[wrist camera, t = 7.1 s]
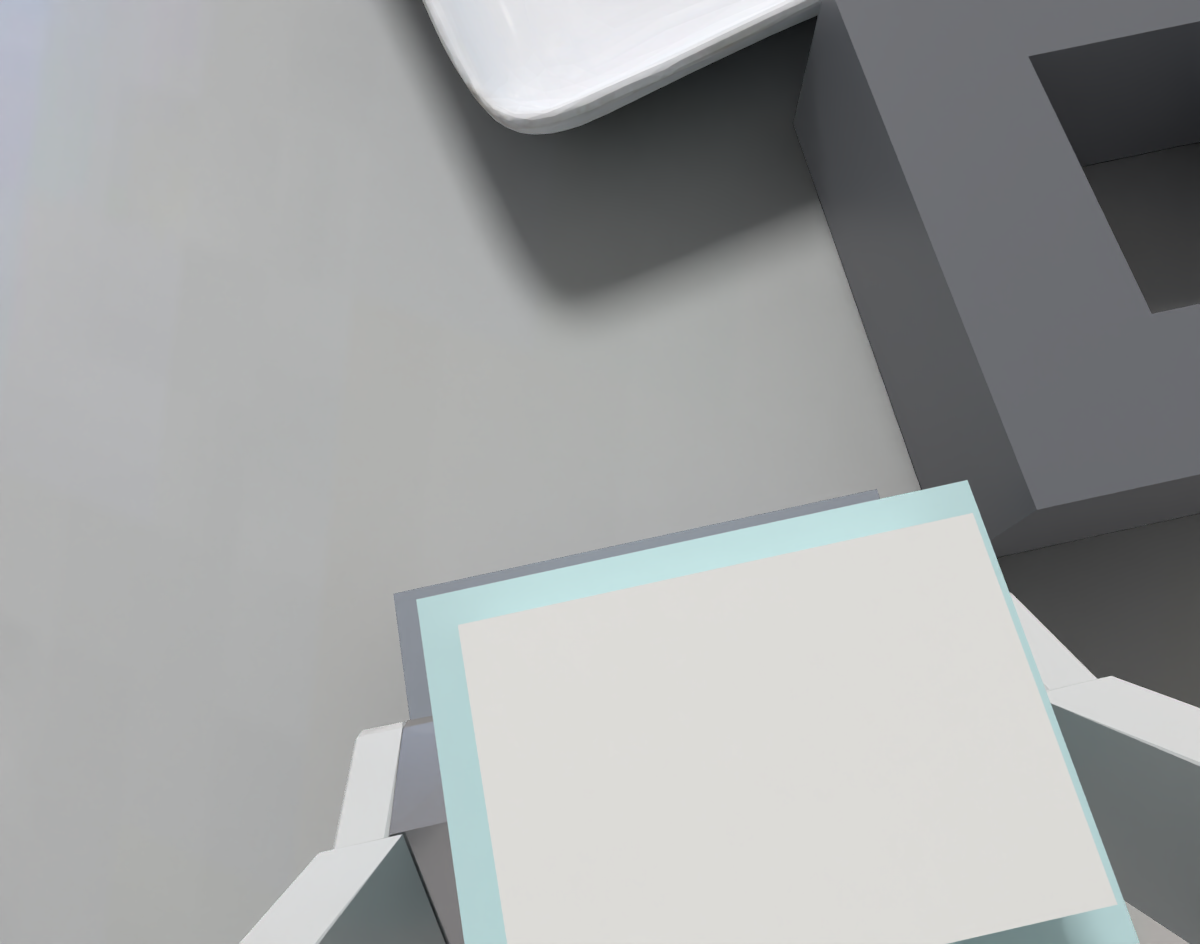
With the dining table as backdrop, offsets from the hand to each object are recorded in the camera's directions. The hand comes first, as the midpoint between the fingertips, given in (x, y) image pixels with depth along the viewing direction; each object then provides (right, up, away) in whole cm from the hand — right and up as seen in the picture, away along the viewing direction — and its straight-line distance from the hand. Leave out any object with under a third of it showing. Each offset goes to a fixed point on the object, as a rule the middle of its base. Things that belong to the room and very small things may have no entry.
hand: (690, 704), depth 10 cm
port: (+11, +7, +9) cm, 16 cm away
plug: (0, -2, +5) cm, 6 cm away
